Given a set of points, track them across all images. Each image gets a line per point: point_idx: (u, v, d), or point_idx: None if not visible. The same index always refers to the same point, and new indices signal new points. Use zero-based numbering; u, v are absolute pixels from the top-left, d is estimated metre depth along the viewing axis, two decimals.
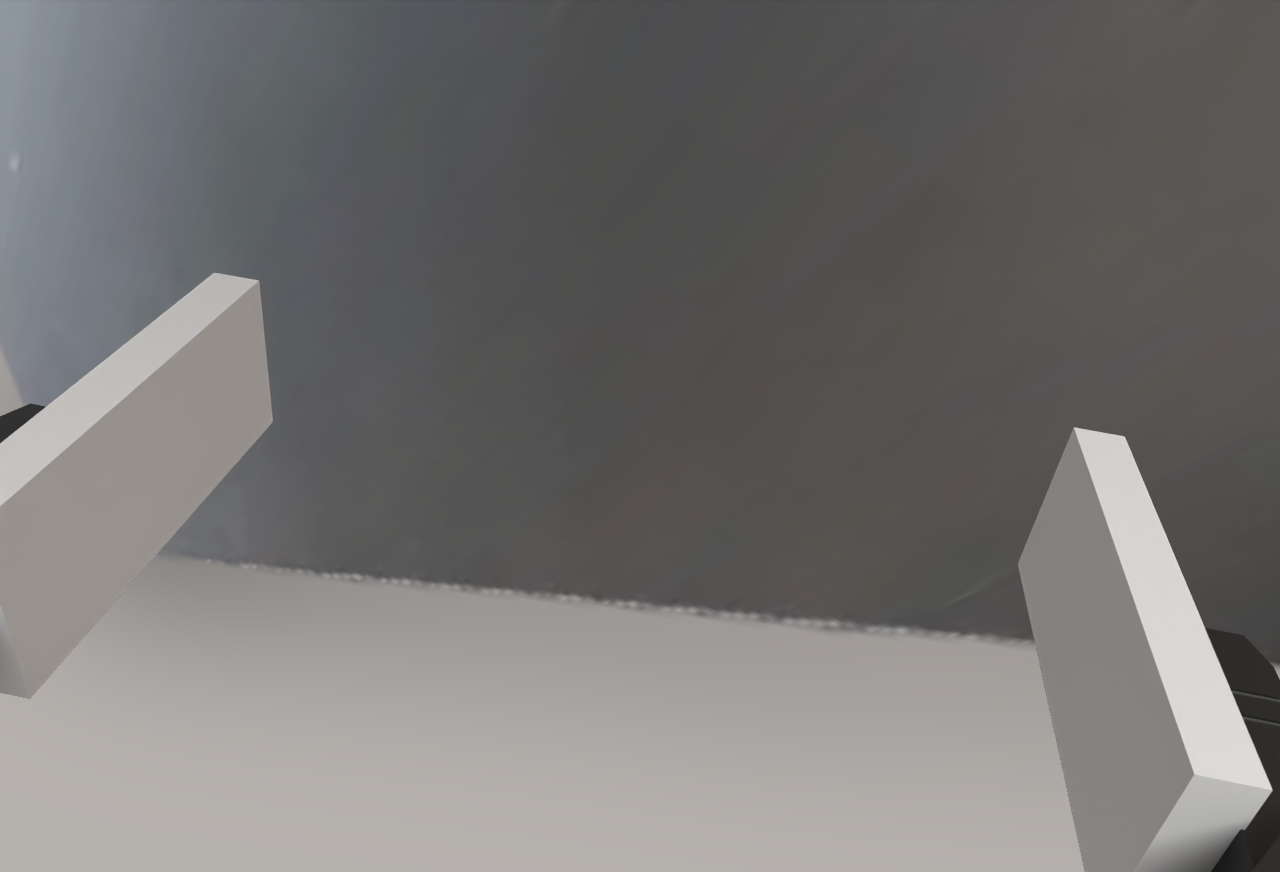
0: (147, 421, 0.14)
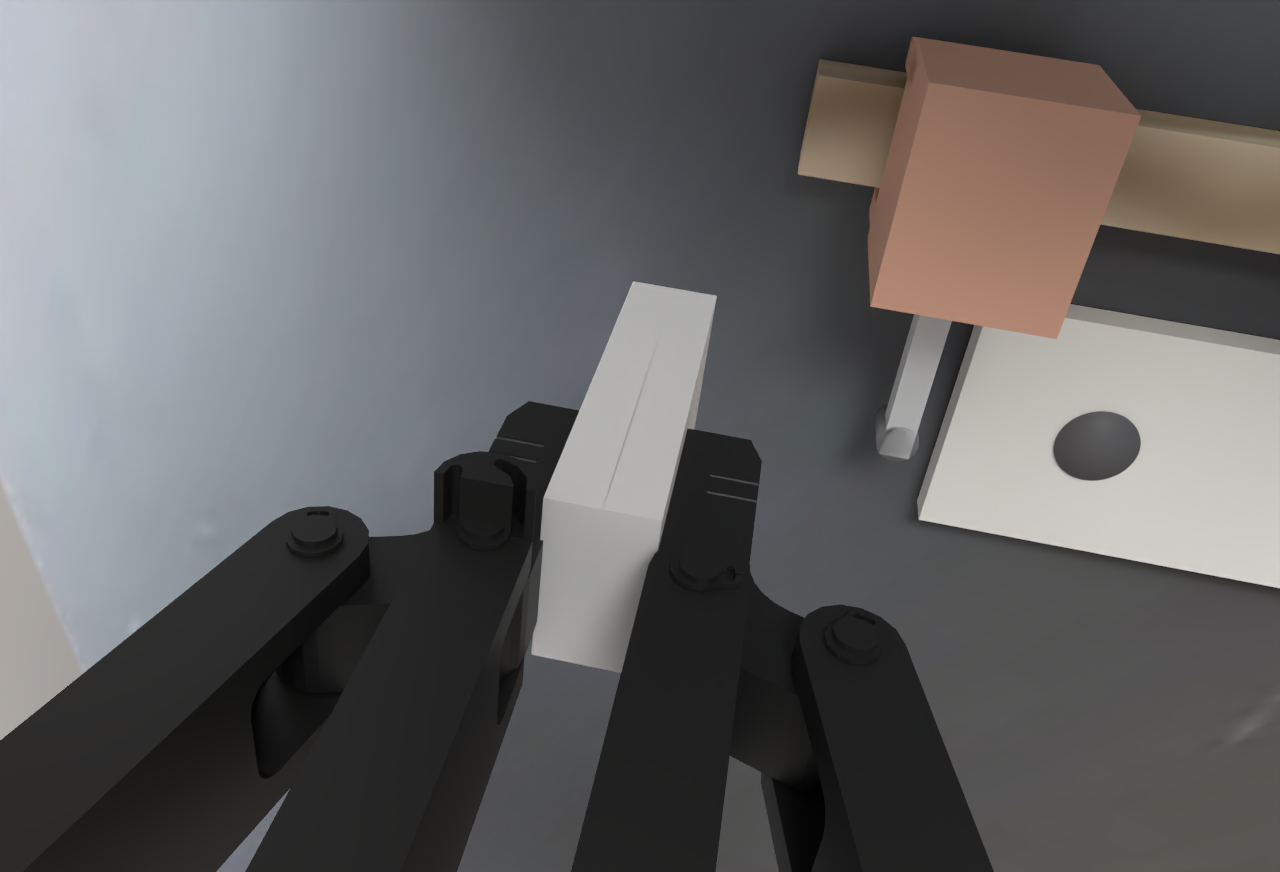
0: None
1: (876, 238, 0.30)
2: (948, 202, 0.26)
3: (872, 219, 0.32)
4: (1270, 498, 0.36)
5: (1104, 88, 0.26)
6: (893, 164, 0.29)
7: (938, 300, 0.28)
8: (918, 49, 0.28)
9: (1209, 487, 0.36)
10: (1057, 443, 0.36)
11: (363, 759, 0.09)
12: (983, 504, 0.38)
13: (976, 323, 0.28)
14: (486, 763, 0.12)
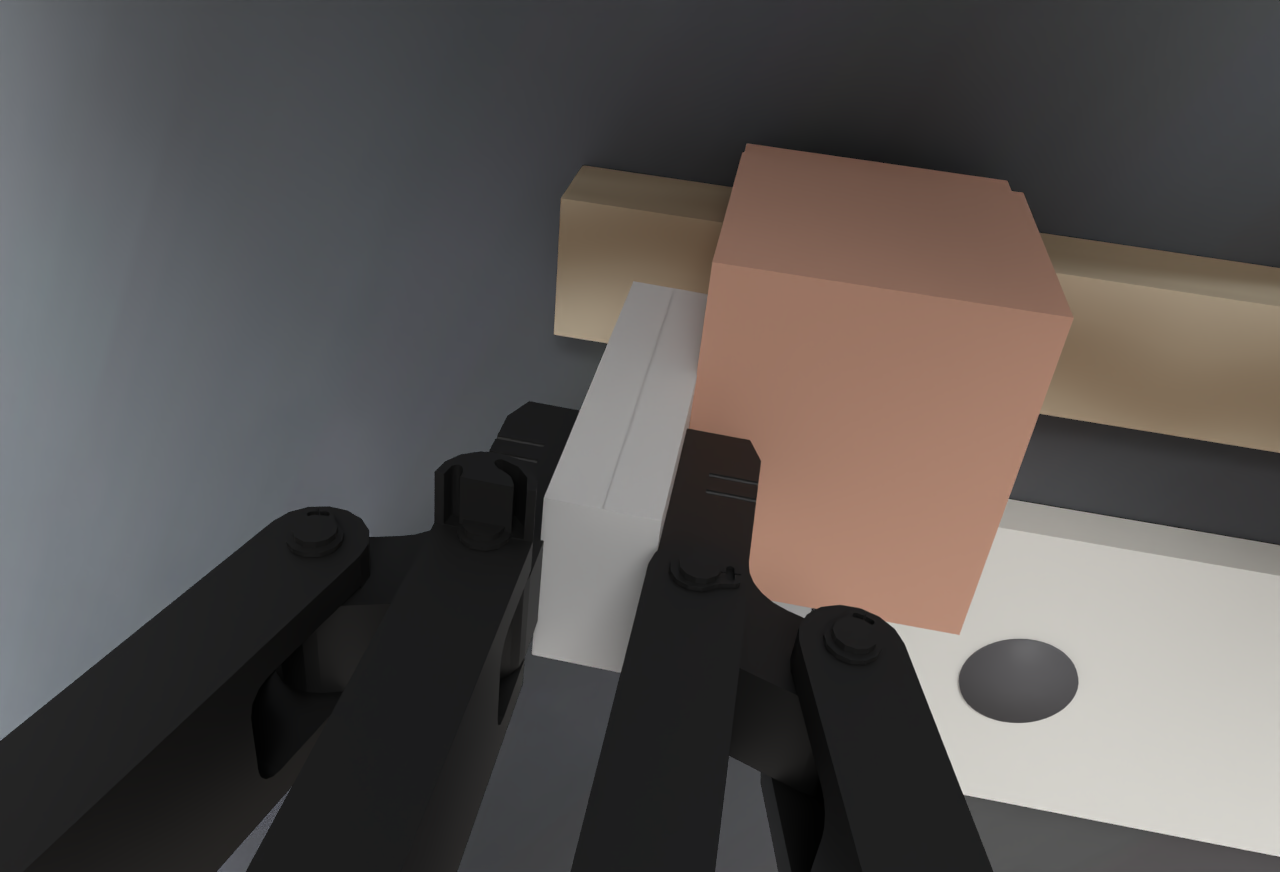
0: None
1: None
2: (767, 442, 0.16)
3: None
4: (1263, 751, 0.26)
5: (1021, 249, 0.16)
6: None
7: (768, 576, 0.18)
8: None
9: (1177, 735, 0.26)
10: (963, 676, 0.26)
11: (364, 759, 0.09)
12: None
13: None
14: (487, 763, 0.12)
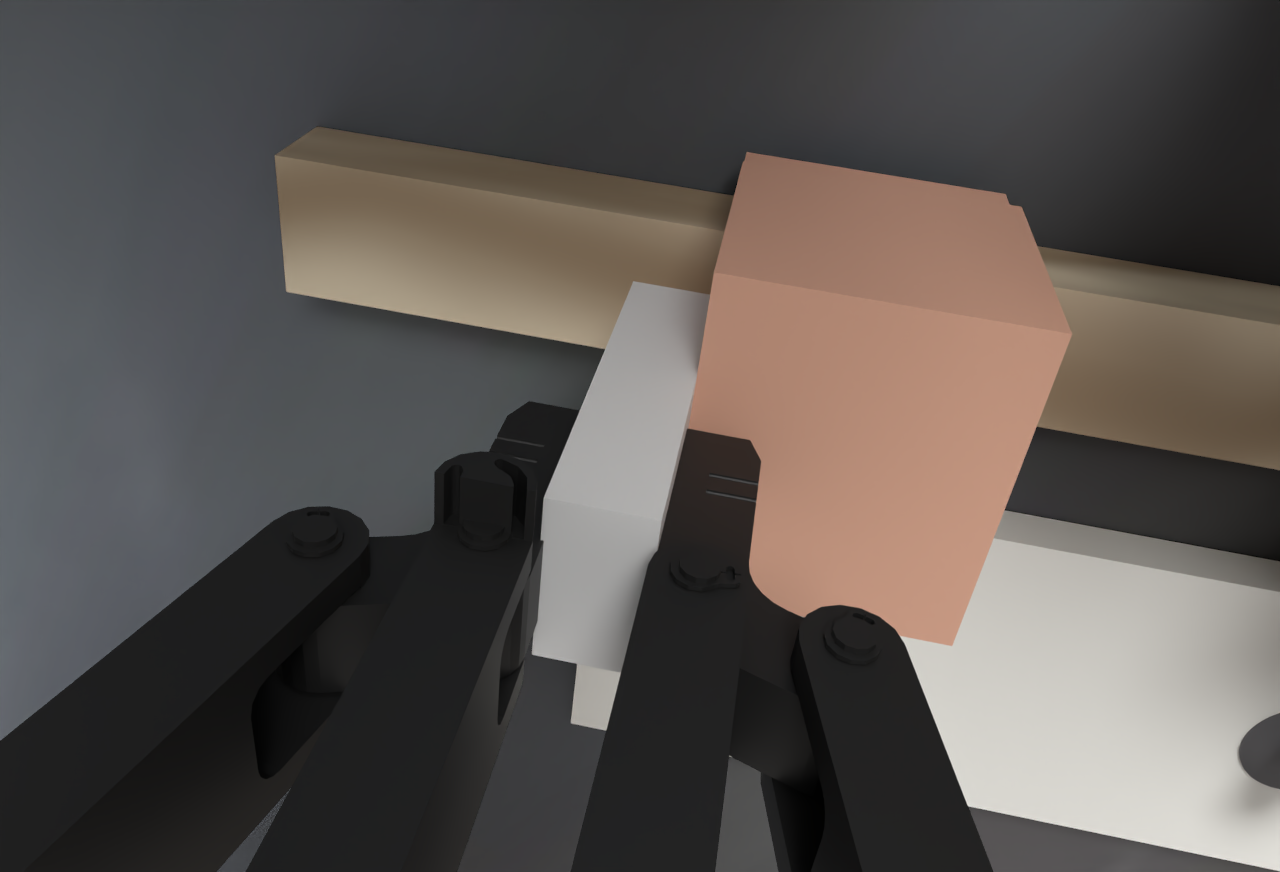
0: None
1: None
2: (765, 452, 0.16)
3: None
4: (1013, 715, 0.26)
5: (1019, 264, 0.16)
6: None
7: (763, 585, 0.18)
8: None
9: (931, 699, 0.27)
10: None
11: (363, 759, 0.09)
12: None
13: None
14: (486, 763, 0.12)
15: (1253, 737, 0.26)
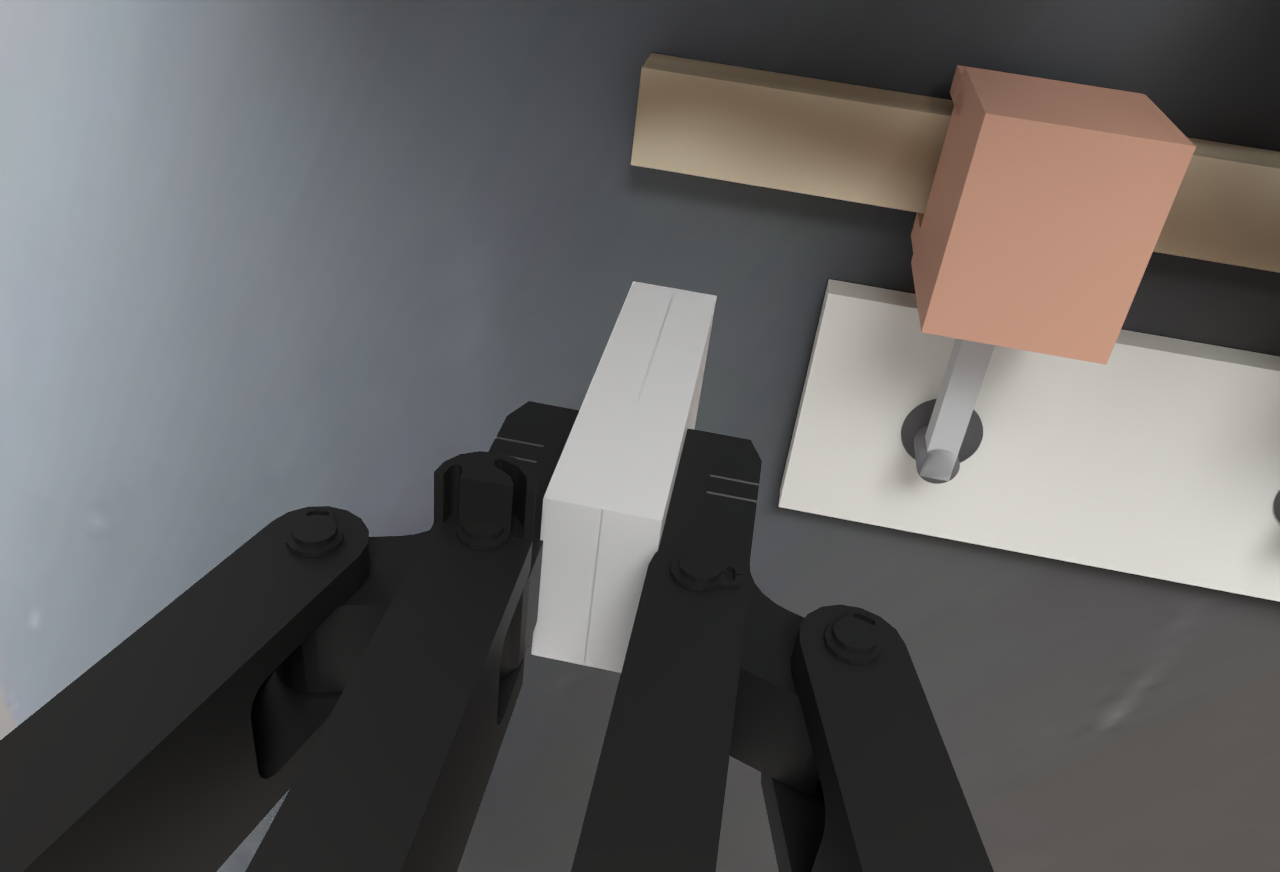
0: None
1: (923, 264, 0.30)
2: (1001, 230, 0.27)
3: (916, 244, 0.32)
4: (1111, 483, 0.37)
5: (1154, 118, 0.27)
6: (941, 191, 0.29)
7: (988, 325, 0.28)
8: (967, 78, 0.29)
9: (1052, 473, 0.37)
10: (904, 430, 0.37)
11: (363, 759, 0.09)
12: (838, 491, 0.39)
13: (1026, 349, 0.28)
14: (486, 763, 0.12)
15: None
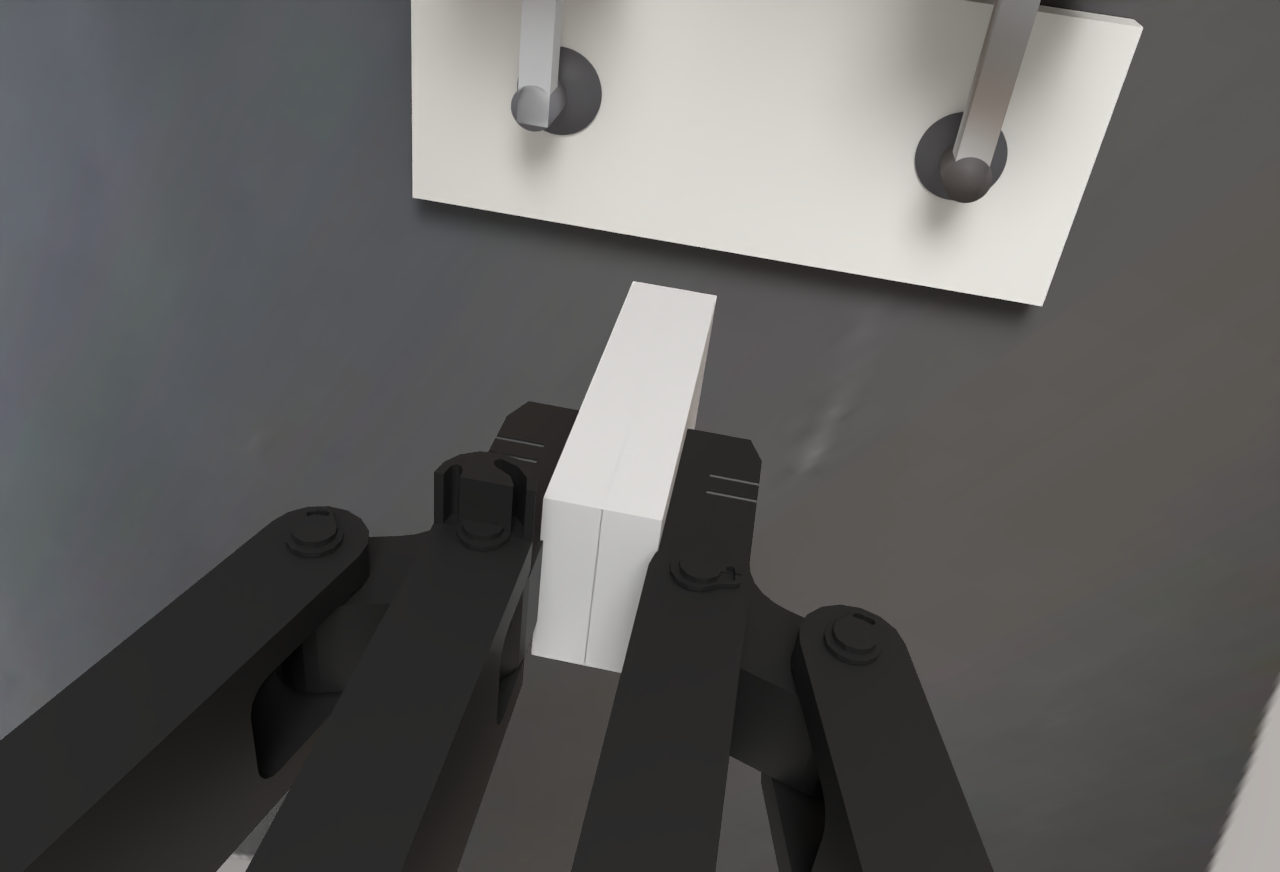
0: None
1: None
2: None
3: None
4: (745, 147, 0.34)
5: None
6: None
7: None
8: None
9: (682, 137, 0.34)
10: None
11: (363, 759, 0.09)
12: (469, 173, 0.36)
13: None
14: (486, 763, 0.12)
15: (923, 148, 0.33)
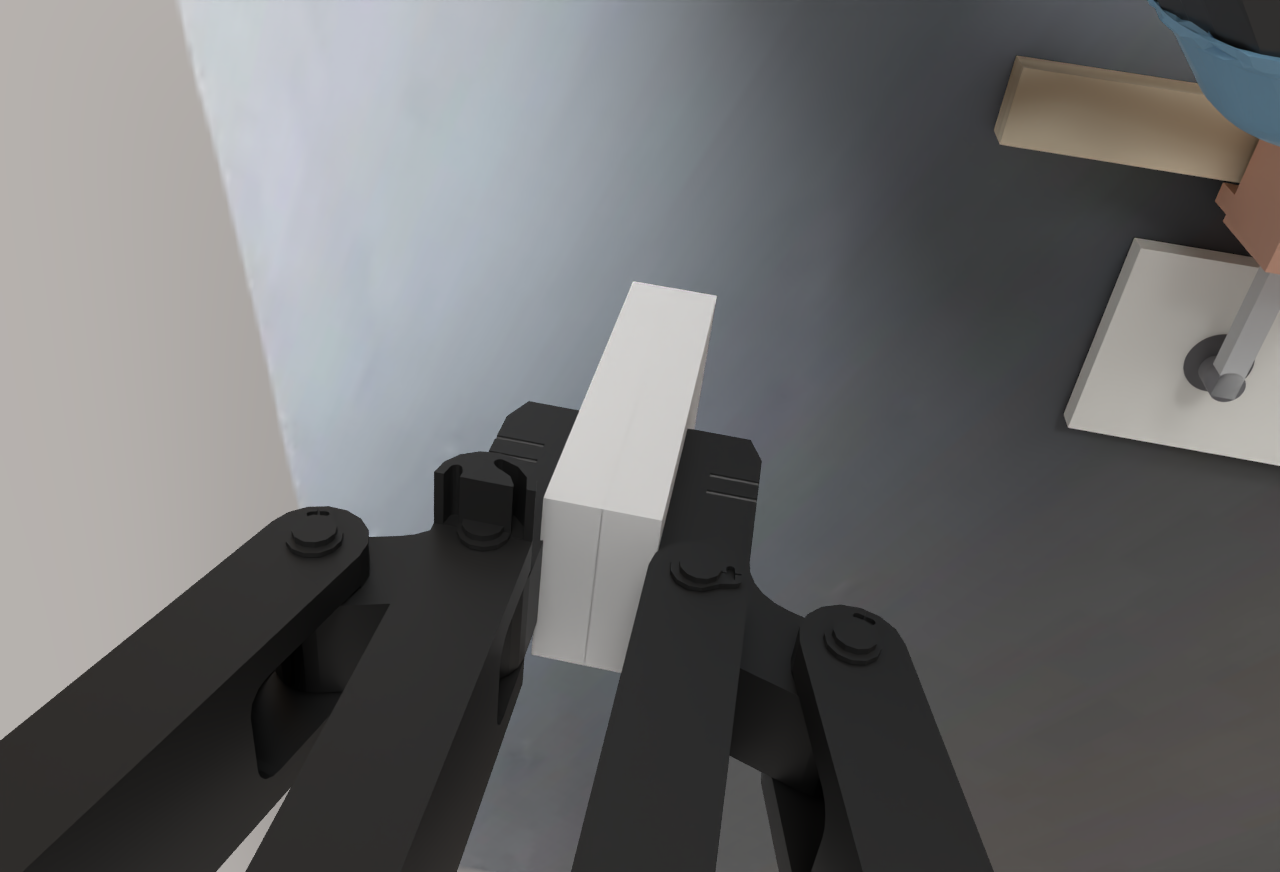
0: None
1: (1252, 221, 0.39)
2: None
3: (1230, 207, 0.41)
4: None
5: None
6: (1273, 164, 0.38)
7: None
8: None
9: None
10: (1187, 361, 0.46)
11: (363, 759, 0.09)
12: (1122, 413, 0.48)
13: None
14: (486, 763, 0.12)
15: None
